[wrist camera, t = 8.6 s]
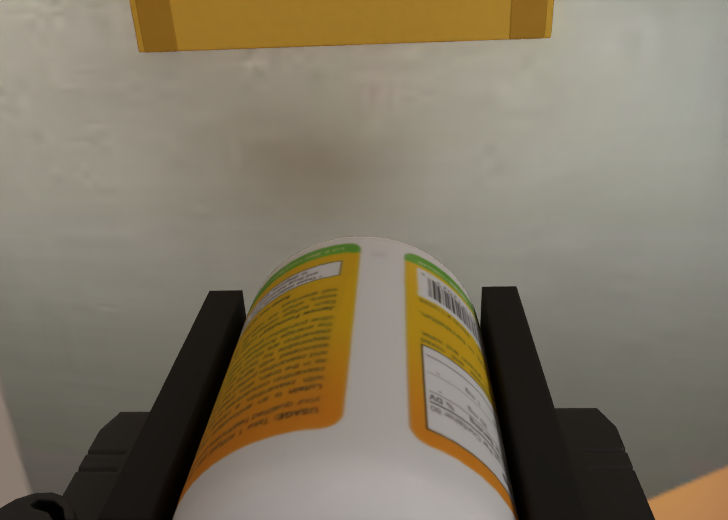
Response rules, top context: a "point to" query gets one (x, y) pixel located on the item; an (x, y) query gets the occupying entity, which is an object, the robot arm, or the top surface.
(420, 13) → the yellow tray
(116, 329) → the top surface
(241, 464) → the supplement bottle
